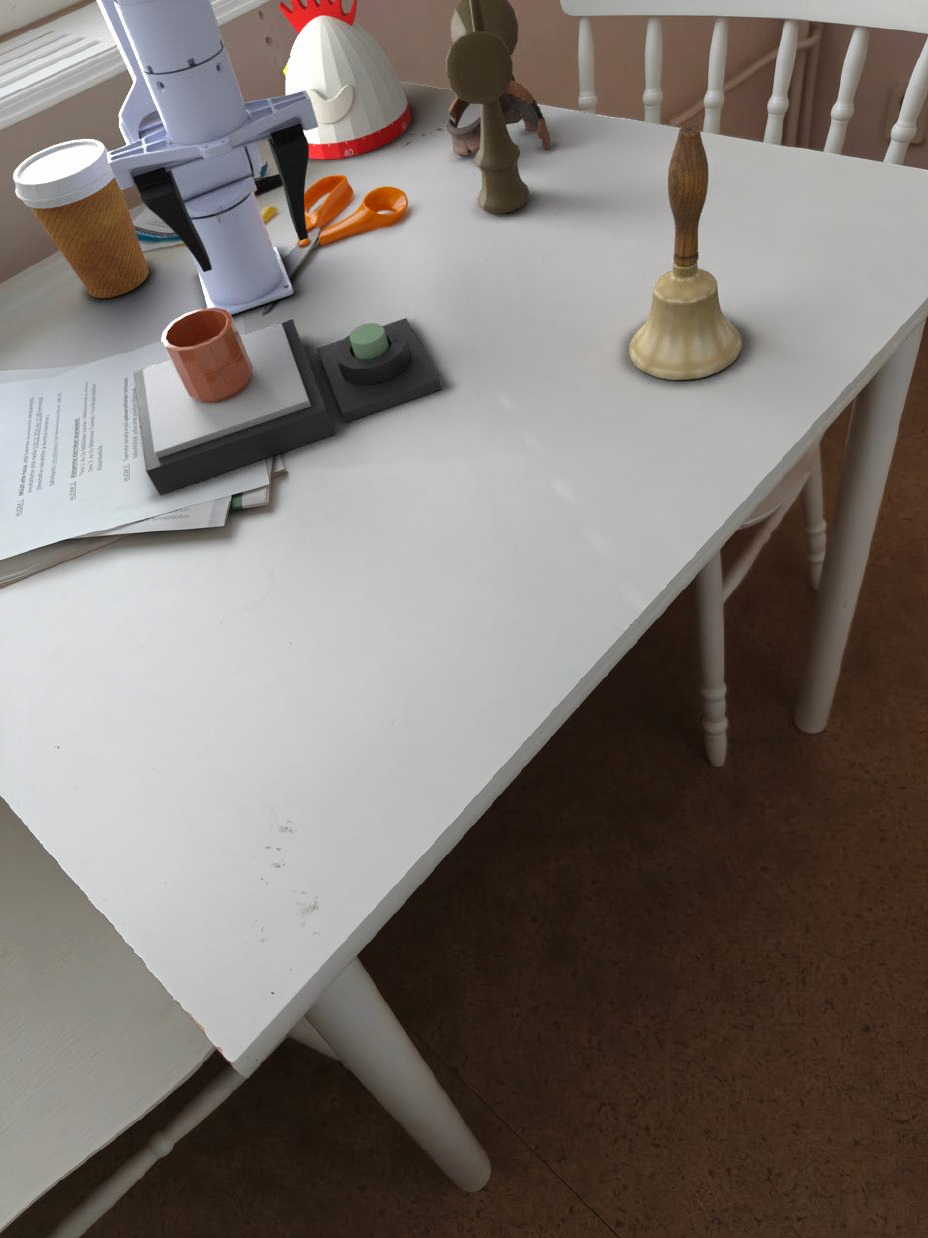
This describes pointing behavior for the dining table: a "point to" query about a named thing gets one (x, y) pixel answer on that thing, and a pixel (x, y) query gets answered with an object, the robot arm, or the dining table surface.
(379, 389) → the pad
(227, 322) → the terracotta flower pot
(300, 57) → the kitchen timer
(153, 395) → the scale
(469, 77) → the kendama
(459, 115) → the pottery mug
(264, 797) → the dining table surface
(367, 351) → the tare button
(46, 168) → the disposable coffee cup
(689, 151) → the hand bell
